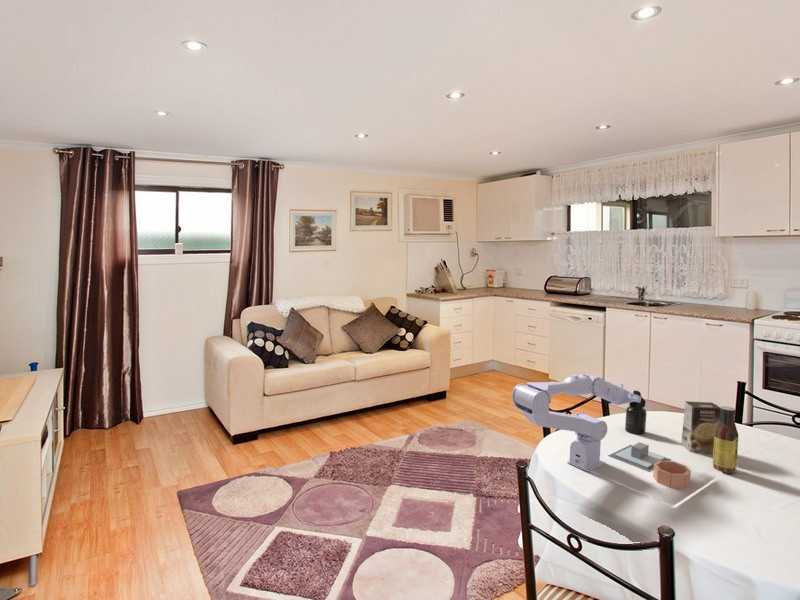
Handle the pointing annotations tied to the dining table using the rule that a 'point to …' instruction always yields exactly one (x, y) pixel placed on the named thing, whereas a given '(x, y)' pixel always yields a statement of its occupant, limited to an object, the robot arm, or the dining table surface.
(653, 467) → the mat
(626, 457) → the cover
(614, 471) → the dining table surface
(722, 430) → the sauce bottle
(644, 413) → the supplement bottle
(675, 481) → the bowl
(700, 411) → the coffee box
